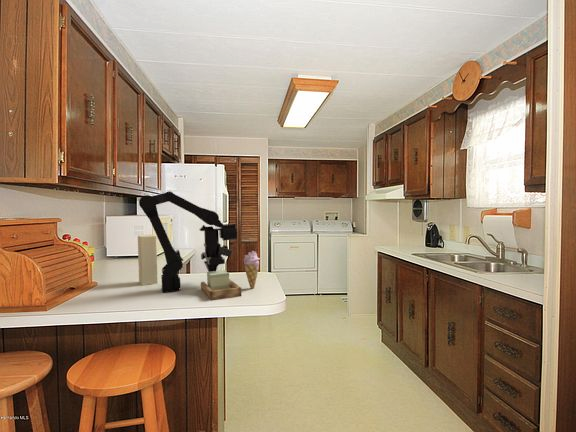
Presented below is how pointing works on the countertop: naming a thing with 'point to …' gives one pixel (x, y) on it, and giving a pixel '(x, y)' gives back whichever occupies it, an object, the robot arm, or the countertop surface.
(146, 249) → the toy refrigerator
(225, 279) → the pale green block
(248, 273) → the ice cream cone
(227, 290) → the bay
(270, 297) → the countertop surface
